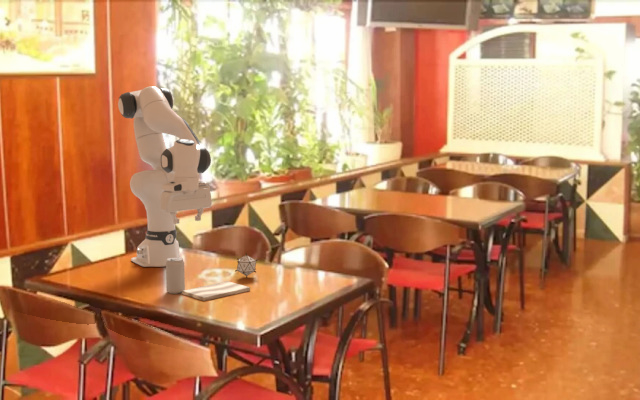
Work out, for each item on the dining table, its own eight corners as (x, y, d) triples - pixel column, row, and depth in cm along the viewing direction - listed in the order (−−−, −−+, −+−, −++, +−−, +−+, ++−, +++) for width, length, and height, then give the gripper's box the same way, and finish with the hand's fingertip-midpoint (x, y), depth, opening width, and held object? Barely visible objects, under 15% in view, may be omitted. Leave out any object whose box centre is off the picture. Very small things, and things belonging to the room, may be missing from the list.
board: (182, 293, 268) (182, 290, 268) (227, 284, 282) (227, 281, 282) (204, 301, 259) (204, 297, 258) (250, 290, 273) (250, 287, 272)
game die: (254, 281, 286) (253, 255, 285) (232, 280, 288) (232, 254, 286) (260, 276, 295) (260, 250, 293) (239, 275, 296) (239, 249, 295)
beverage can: (162, 292, 270) (162, 259, 269) (177, 289, 275) (176, 256, 273) (173, 295, 266) (172, 261, 264) (188, 292, 271) (187, 258, 269)
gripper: (204, 181, 287) (205, 217, 289) (157, 186, 273) (158, 224, 274) (214, 182, 282) (215, 219, 284) (167, 187, 268) (168, 226, 270)
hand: (187, 222), depth 279 cm, fingers open, 8 cm apart
